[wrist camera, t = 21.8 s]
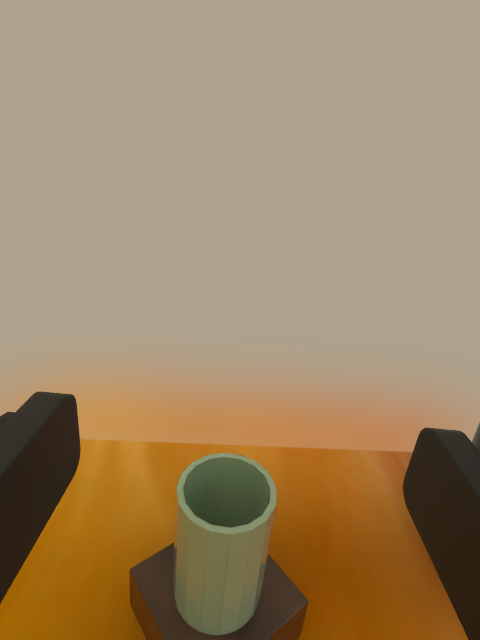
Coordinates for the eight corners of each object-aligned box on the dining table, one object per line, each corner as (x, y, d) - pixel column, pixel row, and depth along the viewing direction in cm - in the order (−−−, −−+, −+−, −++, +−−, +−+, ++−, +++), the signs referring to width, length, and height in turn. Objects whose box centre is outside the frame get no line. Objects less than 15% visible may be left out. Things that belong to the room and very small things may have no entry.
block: (226, 541, 33) (229, 508, 32) (300, 636, 27) (308, 600, 25) (130, 604, 28) (129, 568, 26) (194, 742, 21) (197, 705, 20)
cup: (225, 531, 30) (235, 441, 26) (277, 596, 26) (297, 499, 22) (157, 575, 26) (158, 477, 23) (205, 659, 22) (215, 554, 19)
